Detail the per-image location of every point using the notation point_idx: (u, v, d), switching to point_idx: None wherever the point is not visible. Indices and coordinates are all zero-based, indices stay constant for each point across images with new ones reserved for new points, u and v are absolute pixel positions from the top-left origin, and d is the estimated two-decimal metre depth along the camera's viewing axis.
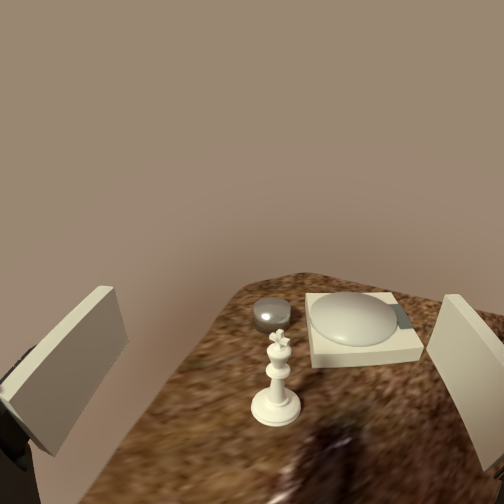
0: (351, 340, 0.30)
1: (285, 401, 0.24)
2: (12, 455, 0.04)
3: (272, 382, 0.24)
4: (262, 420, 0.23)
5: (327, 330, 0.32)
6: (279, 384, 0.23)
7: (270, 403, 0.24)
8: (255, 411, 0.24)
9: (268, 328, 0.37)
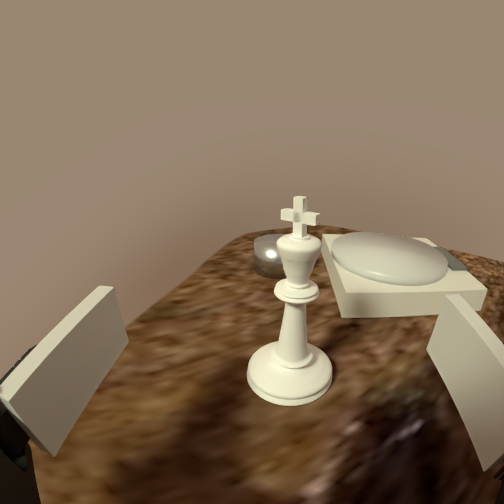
0: (396, 275, 0.20)
1: (307, 359, 0.14)
2: (12, 455, 0.04)
3: (285, 317, 0.14)
4: (266, 393, 0.13)
5: (360, 264, 0.22)
6: (298, 319, 0.13)
7: (281, 362, 0.14)
8: (253, 378, 0.14)
9: (274, 269, 0.27)
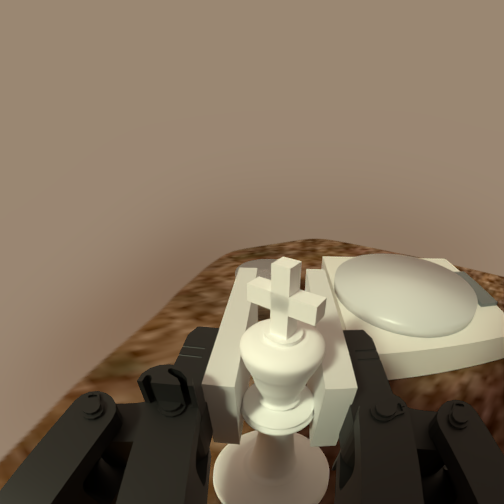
0: (420, 325, 0.14)
1: (295, 472, 0.08)
2: None
3: (261, 435, 0.07)
4: None
5: (373, 308, 0.16)
6: (280, 441, 0.07)
7: (256, 477, 0.08)
8: (220, 489, 0.08)
9: (260, 309, 0.21)
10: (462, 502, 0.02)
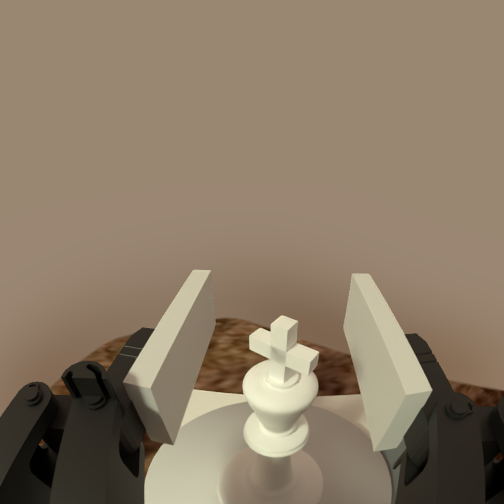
0: None
1: (291, 484, 0.09)
2: (122, 456, 0.05)
3: (261, 454, 0.08)
4: None
5: None
6: (278, 460, 0.08)
7: (257, 488, 0.08)
8: (223, 499, 0.09)
9: None
10: None
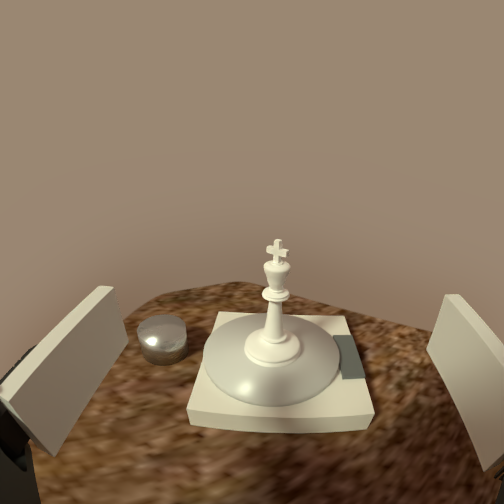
0: (248, 395, 0.19)
1: (283, 337, 0.23)
2: (12, 455, 0.04)
3: (269, 310, 0.22)
4: (257, 359, 0.22)
5: (217, 374, 0.21)
6: (276, 311, 0.22)
7: (266, 339, 0.23)
8: (249, 350, 0.23)
9: (152, 357, 0.25)
10: None
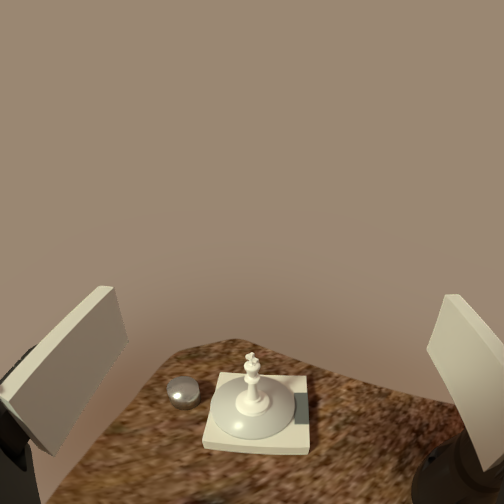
0: (236, 434, 0.31)
1: (258, 399, 0.35)
2: (12, 455, 0.04)
3: (248, 386, 0.35)
4: (242, 411, 0.35)
5: (219, 420, 0.34)
6: (253, 387, 0.34)
7: (248, 400, 0.35)
8: (237, 405, 0.35)
9: (178, 405, 0.38)
10: None
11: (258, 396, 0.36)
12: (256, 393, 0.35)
